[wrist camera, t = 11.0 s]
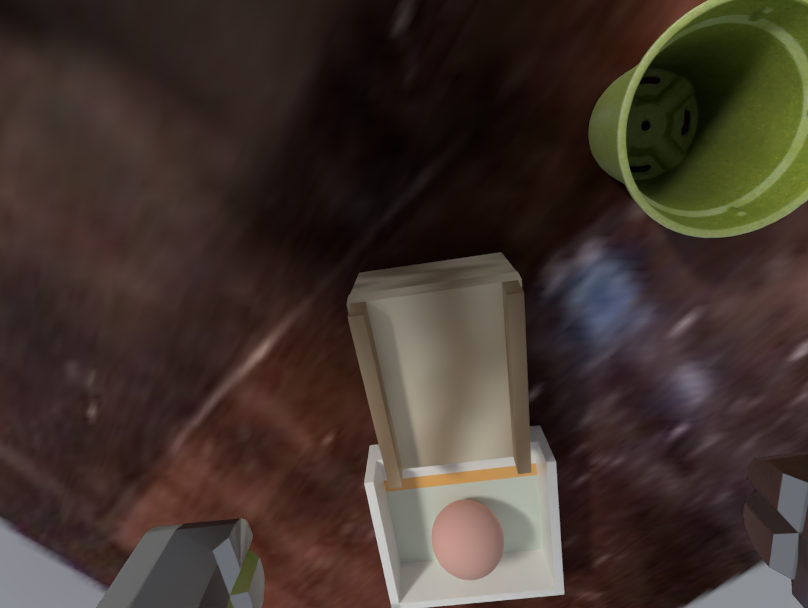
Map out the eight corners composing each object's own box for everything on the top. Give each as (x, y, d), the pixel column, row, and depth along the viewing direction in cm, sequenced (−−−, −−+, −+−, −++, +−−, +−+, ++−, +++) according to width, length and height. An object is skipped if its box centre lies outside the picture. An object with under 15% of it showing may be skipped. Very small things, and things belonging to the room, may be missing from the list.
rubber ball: (425, 510, 31) (434, 595, 30) (500, 502, 31) (514, 587, 30) (429, 497, 36) (437, 569, 35) (494, 490, 36) (505, 563, 34)
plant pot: (716, 203, 28) (840, 227, 20) (557, 217, 29) (613, 247, 20) (736, 25, 25) (892, -32, 17) (558, 45, 26) (625, -1, 17)
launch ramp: (390, 437, 34) (384, 513, 27) (358, 271, 30) (341, 310, 23) (516, 422, 33) (543, 496, 26) (501, 250, 29) (527, 283, 22)
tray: (394, 563, 38) (392, 610, 34) (369, 445, 34) (364, 483, 30) (548, 548, 37) (564, 594, 33) (539, 425, 33) (555, 461, 30)
